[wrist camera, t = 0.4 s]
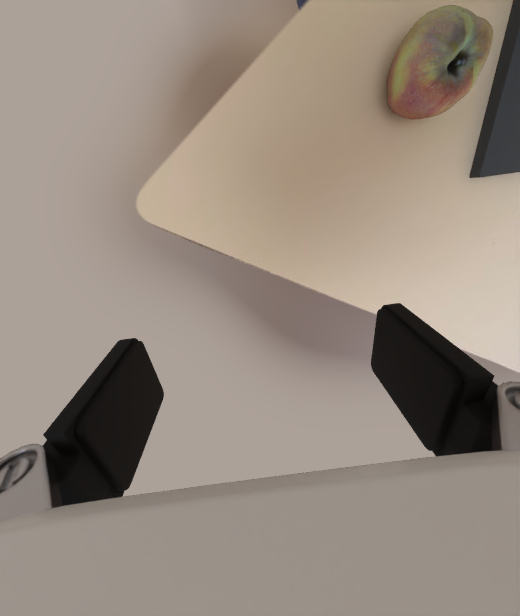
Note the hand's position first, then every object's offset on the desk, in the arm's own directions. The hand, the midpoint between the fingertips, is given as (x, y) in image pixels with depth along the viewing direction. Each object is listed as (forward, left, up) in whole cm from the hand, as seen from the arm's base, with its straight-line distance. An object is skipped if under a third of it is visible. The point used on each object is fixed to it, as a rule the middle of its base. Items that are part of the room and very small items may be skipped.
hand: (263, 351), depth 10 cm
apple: (-12, +15, -19) cm, 27 cm away
